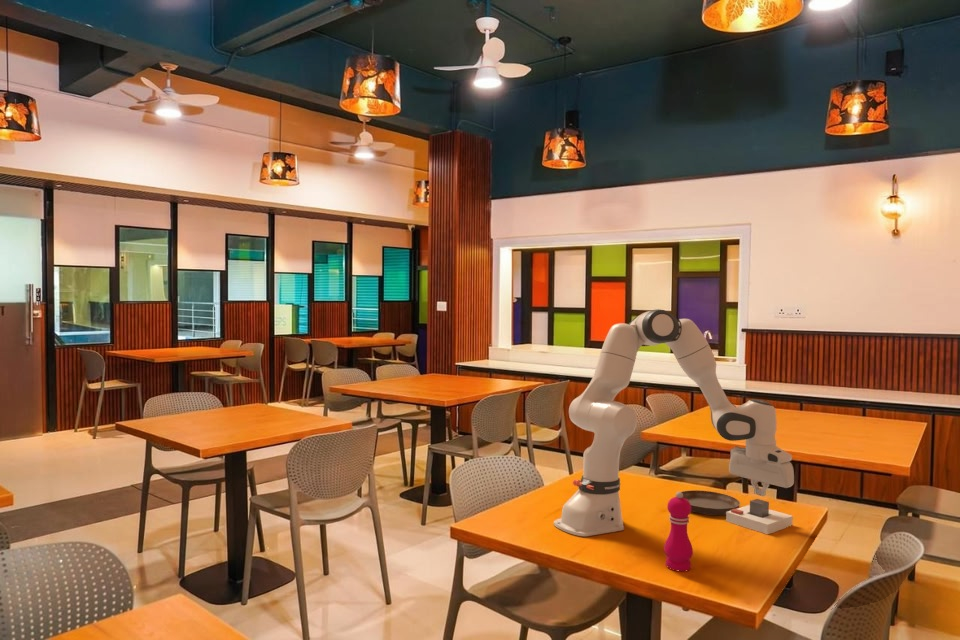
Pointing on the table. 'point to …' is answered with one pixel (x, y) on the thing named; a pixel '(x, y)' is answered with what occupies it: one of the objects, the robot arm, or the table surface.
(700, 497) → the plant saucer
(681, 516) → the pepper mill
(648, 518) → the table surface
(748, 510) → the socket plate
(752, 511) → the plug
